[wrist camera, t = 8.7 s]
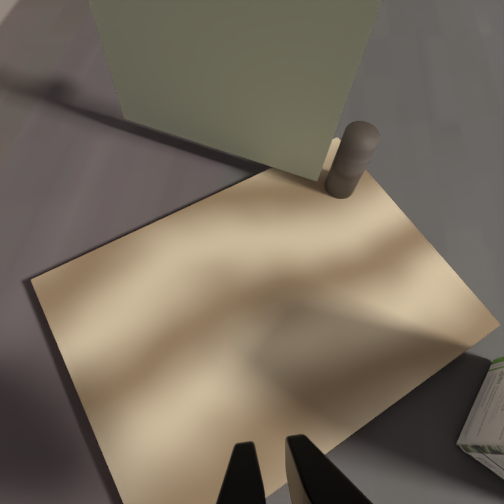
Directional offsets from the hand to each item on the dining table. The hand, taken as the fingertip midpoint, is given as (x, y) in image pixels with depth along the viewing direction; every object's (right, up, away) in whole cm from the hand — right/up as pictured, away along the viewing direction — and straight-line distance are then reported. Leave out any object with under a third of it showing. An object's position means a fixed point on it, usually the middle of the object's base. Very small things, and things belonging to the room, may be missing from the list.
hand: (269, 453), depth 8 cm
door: (-2, +12, +19) cm, 23 cm away
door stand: (+1, +1, +15) cm, 16 cm away
